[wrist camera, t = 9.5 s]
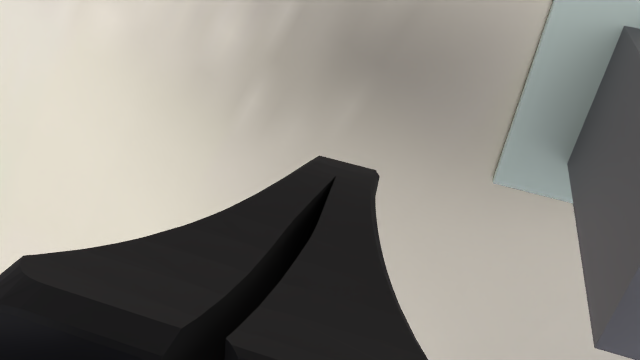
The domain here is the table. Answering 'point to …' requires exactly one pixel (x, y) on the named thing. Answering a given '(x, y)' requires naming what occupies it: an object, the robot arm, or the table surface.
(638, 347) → the black domino
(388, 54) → the table surface
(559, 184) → the sage board
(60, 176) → the table surface
